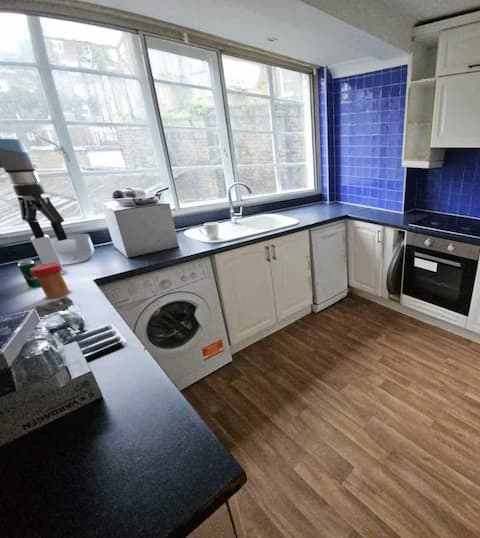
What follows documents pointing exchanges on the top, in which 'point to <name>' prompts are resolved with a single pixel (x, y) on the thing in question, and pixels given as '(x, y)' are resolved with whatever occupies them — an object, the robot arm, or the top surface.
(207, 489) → the top surface
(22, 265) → the soda can
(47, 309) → the egg carton
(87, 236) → the bowl
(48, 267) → the lid
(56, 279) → the jar
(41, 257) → the milk
